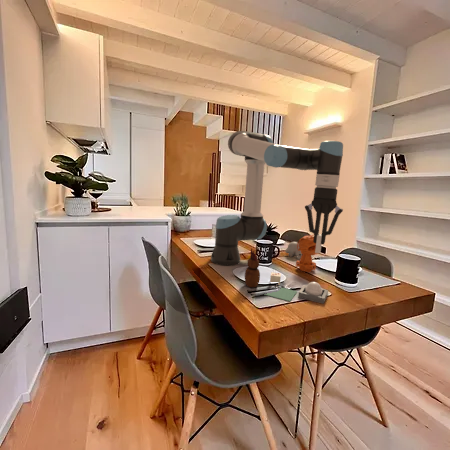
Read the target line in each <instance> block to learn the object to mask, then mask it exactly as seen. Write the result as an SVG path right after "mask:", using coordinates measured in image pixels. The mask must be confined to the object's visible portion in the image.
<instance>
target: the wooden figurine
mask: <svg viewBox="0 0 450 450" xmlns="http://www.w3.org/2000/svg"><path fill="white" fill-rule="evenodd" d="M257 258H258V257H257V256H256V253H255V250H253V248H252V247H251V248H250V257H249V259H248V260H247V262H246V263H247V267H246V269H245V271H244V282H245V285H246V286H247V287H248V288H256V287H258V285H259V283H260V279H261V272H260V270H259V267H260V260H259V259H257Z"/></svg>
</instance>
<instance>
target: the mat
mask: <svg viewBox="0 0 450 450" xmlns="http://www.w3.org/2000/svg"><path fill="white" fill-rule="evenodd" d="M297 293H298V291H297V290H292V289H289V288H285V287H281V289H280V290H279V291H277V292H272V293H267V294H264V293H263V294H264V296H268V297H271V298H274V299H278V300H283V301H285V302H291V301H293V299H294V297H295V296H296V295H297Z"/></svg>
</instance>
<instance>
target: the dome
mask: <svg viewBox="0 0 450 450" xmlns="http://www.w3.org/2000/svg"><path fill="white" fill-rule="evenodd" d="M305 285H306V288H305V292H304V293H308V294H312V295H316V296H321V297H322V290H323V289H324V288H322V287H321V286H322V285H320V283H318V282H316V281H310V282H309V283H307V284H305Z"/></svg>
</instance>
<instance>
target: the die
mask: <svg viewBox="0 0 450 450" xmlns="http://www.w3.org/2000/svg"><path fill="white" fill-rule="evenodd" d="M281 277H282V273H281V272H270V277H269V279H270V280H269V283H270V282H279V283H278V285H280V286H281Z"/></svg>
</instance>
